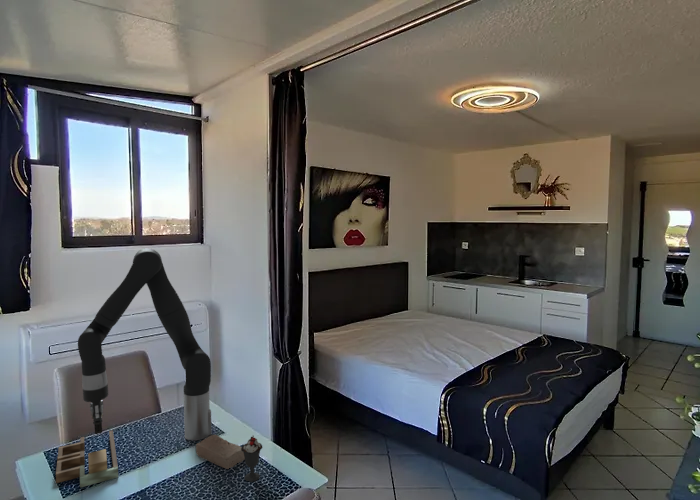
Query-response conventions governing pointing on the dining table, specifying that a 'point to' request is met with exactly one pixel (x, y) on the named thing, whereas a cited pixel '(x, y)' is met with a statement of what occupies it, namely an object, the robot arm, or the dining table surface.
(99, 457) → the block
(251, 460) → the sundae
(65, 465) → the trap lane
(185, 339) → the robot arm
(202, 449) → the brick
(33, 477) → the dining table surface
